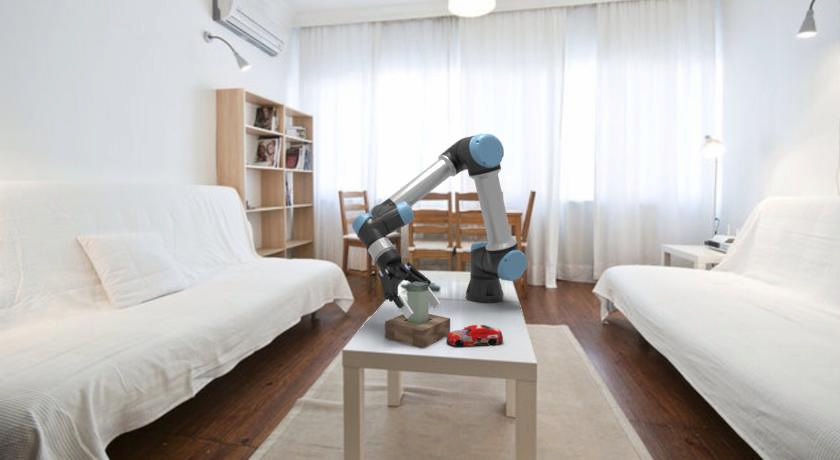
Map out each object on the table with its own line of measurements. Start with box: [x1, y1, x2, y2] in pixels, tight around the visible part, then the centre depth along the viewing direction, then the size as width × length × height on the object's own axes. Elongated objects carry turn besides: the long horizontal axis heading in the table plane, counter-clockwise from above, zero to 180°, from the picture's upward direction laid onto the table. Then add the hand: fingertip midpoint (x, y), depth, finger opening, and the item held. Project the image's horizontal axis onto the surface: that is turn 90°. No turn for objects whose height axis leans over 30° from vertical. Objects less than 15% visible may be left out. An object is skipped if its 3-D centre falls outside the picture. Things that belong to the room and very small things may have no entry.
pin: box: [406, 281, 429, 325], centre depth 126 cm, size 4×4×16 cm
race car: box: [445, 324, 504, 348], centre depth 121 cm, size 16×7×5 cm, turn 97°
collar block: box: [384, 313, 451, 349], centre depth 127 cm, size 14×14×5 cm
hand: (424, 310), depth 125 cm, fingers open, 13 cm apart
